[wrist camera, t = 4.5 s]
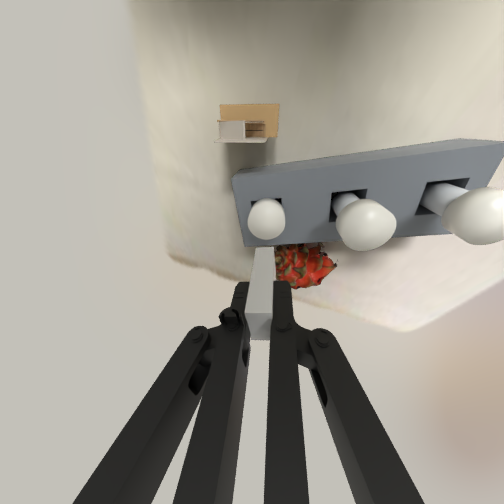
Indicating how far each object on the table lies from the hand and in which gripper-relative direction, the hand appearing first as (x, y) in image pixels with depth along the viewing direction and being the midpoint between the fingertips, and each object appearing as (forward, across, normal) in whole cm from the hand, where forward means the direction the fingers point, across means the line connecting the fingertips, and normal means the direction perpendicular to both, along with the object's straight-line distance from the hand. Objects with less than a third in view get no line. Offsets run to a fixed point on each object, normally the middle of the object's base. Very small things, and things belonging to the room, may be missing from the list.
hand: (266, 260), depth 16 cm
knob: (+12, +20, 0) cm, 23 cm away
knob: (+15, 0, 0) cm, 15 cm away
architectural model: (+17, -2, +10) cm, 20 cm away
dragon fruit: (+17, +4, -11) cm, 20 cm away
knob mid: (+12, +10, 0) cm, 15 cm away
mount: (+16, +10, 0) cm, 19 cm away
